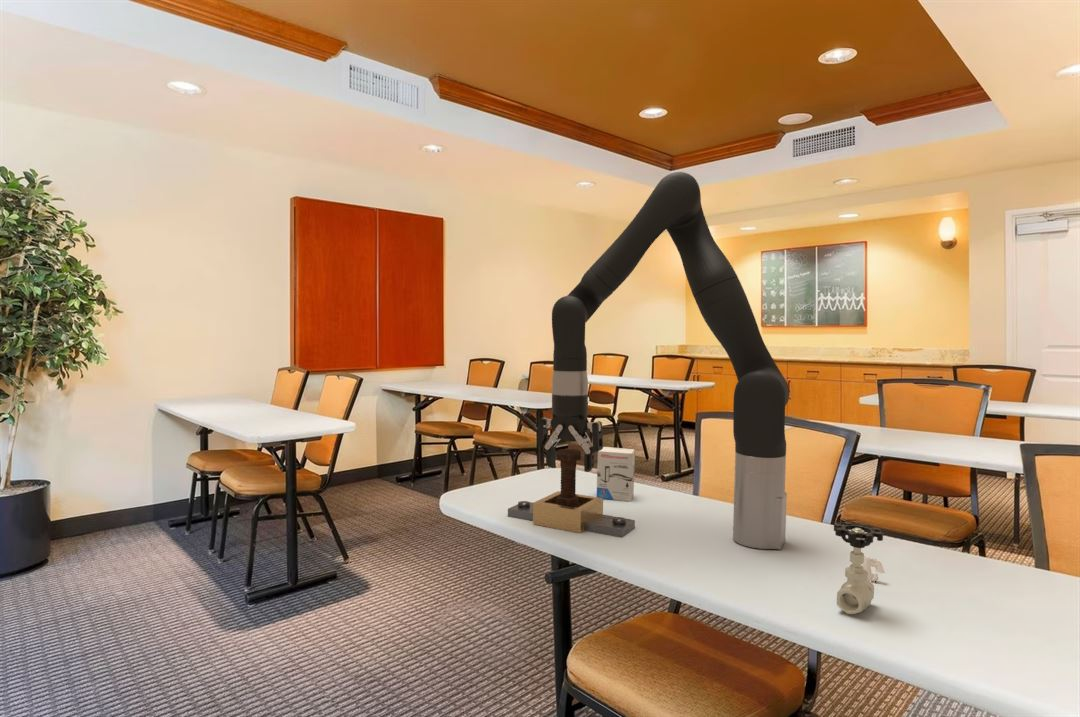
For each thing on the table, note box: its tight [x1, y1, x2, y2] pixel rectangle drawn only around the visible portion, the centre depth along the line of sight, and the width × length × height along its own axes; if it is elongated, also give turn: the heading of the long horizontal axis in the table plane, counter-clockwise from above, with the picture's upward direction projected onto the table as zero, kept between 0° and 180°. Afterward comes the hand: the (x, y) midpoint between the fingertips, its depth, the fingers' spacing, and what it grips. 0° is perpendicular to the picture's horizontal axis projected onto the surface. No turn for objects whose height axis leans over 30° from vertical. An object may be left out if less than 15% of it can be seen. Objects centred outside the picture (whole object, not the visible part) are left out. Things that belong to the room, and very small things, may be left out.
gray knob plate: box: [585, 513, 636, 538], centre depth 128 cm, size 9×7×2 cm
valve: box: [833, 521, 884, 615], centre depth 92 cm, size 7×7×12 cm
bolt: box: [556, 448, 582, 507], centre depth 132 cm, size 6×5×15 cm
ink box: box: [596, 446, 636, 502], centre depth 151 cm, size 9×5×12 cm, turn 73°
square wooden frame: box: [532, 490, 604, 534], centre depth 132 cm, size 11×11×4 cm
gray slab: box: [507, 500, 534, 522], centre depth 137 cm, size 8×7×2 cm
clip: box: [861, 555, 885, 583], centre depth 103 cm, size 5×2×4 cm, turn 41°
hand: (569, 469), depth 131 cm, fingers open, 8 cm apart
